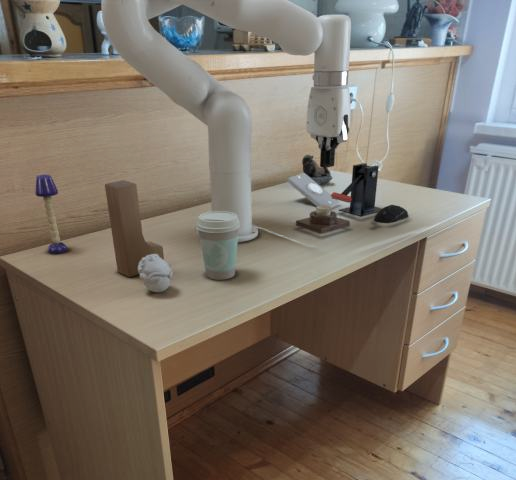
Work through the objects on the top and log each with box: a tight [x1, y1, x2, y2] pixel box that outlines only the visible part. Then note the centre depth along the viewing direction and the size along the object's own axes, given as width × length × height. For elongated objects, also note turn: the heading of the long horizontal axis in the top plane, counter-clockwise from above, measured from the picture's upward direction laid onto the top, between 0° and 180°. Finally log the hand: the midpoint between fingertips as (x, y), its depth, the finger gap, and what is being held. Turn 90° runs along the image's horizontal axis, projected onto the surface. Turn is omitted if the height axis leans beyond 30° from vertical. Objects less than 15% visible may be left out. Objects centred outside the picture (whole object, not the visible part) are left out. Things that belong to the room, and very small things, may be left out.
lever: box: [330, 164, 371, 204], centre depth 139 cm, size 12×6×2 cm, turn 130°
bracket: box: [338, 162, 383, 218], centre depth 142 cm, size 10×8×13 cm
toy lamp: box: [34, 174, 69, 255], centre depth 118 cm, size 5×5×17 cm
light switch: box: [286, 172, 341, 207], centre depth 153 cm, size 8×6×14 cm
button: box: [315, 205, 332, 216], centre depth 131 cm, size 4×4×2 cm
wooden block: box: [104, 179, 165, 278], centre depth 107 cm, size 9×4×18 cm, turn 135°
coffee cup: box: [195, 211, 240, 281], centre depth 105 cm, size 8×9×12 cm
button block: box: [295, 210, 351, 235], centre depth 133 cm, size 10×9×4 cm
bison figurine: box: [301, 154, 333, 186], centre depth 172 cm, size 12×7×10 cm, turn 130°
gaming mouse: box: [373, 204, 409, 224], centre depth 138 cm, size 6×15×4 cm, turn 138°
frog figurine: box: [138, 254, 174, 293], centre depth 100 cm, size 6×7×7 cm
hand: (327, 166), depth 126 cm, fingers closed
